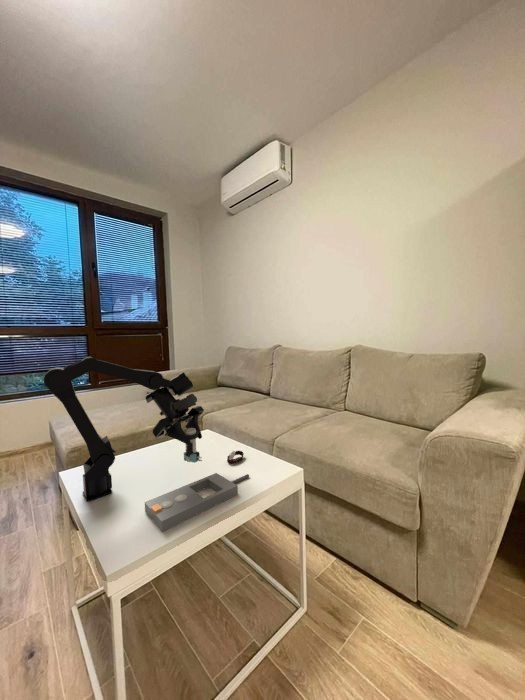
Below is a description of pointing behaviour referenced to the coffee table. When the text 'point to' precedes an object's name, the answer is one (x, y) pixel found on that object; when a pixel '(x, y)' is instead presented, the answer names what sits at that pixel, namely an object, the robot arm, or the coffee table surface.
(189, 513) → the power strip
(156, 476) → the coffee table surface
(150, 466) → the coffee table surface
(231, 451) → the watch
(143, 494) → the coffee table surface
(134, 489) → the coffee table surface
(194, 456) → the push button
